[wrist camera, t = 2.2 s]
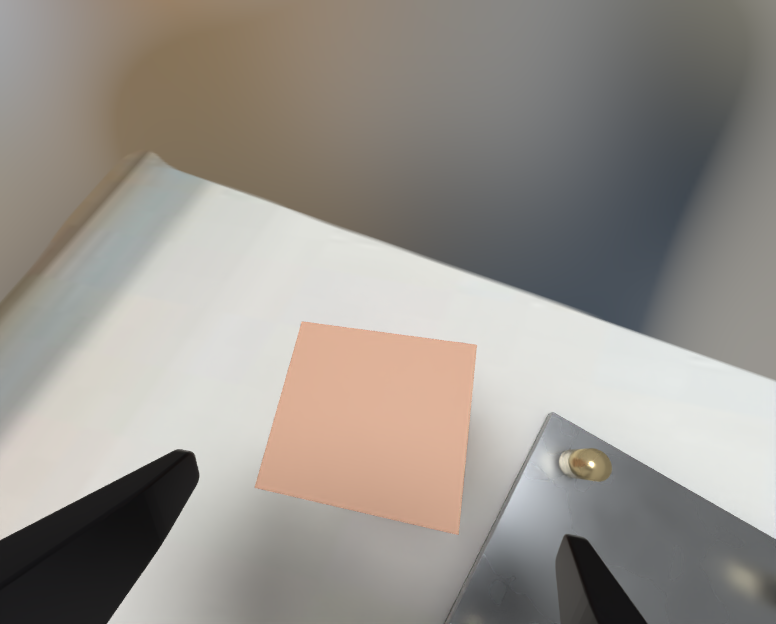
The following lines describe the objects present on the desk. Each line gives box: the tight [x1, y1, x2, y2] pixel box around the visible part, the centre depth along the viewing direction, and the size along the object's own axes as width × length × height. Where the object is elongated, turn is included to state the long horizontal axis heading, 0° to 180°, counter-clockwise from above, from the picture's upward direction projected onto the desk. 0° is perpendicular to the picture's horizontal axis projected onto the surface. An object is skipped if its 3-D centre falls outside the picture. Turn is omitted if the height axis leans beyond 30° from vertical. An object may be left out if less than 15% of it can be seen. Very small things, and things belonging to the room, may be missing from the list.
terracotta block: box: [255, 322, 477, 535], centre depth 13 cm, size 4×4×11 cm
